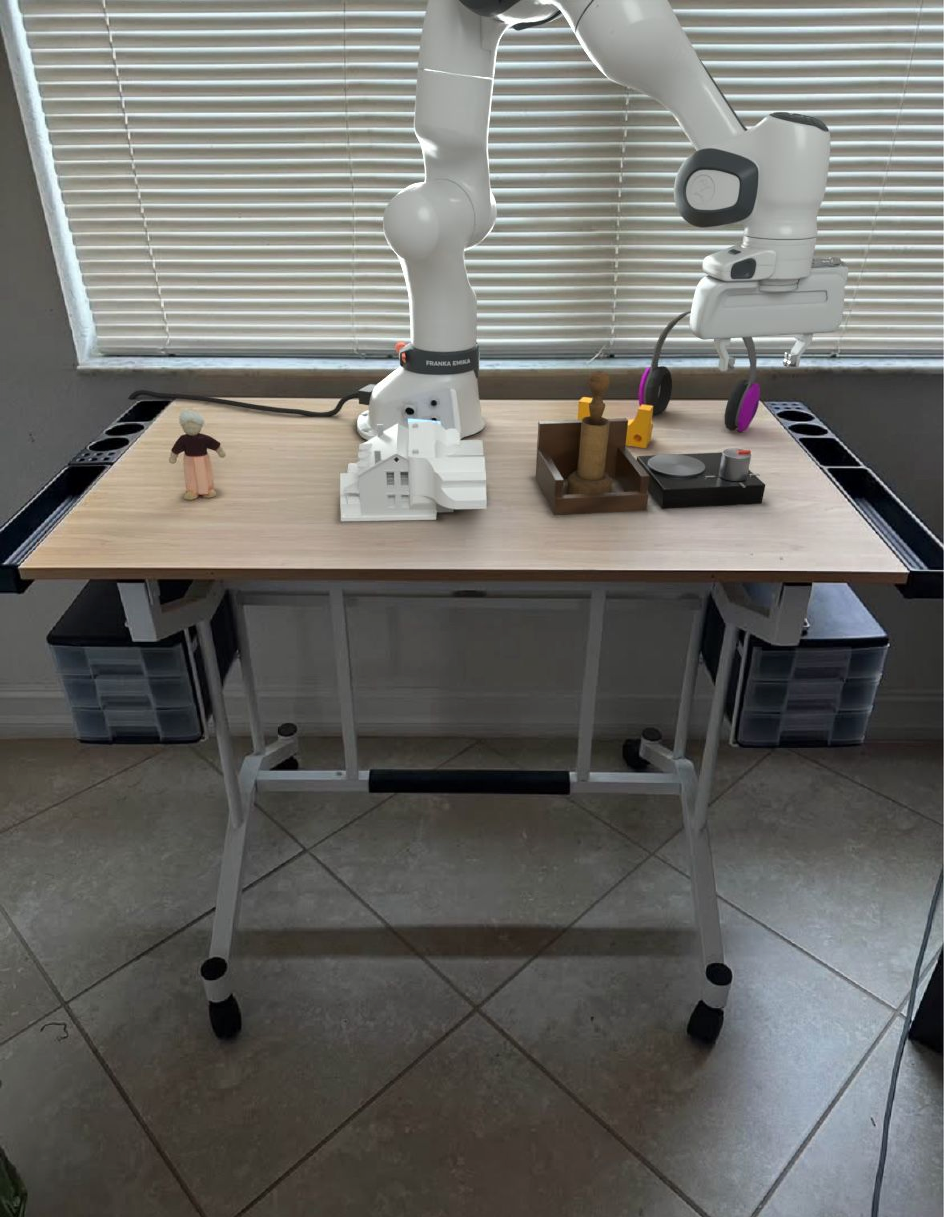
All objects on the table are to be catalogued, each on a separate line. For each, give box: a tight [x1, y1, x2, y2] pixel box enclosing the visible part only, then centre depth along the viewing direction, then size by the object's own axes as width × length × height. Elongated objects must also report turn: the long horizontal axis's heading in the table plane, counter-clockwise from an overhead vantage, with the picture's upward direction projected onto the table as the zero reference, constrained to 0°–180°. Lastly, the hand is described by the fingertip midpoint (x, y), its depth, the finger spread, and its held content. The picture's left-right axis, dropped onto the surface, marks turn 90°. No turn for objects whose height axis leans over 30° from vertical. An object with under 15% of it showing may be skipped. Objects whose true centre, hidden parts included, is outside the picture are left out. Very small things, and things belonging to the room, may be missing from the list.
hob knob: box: [719, 448, 752, 481], centre depth 122 cm, size 4×4×4 cm
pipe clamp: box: [576, 396, 654, 449], centre depth 143 cm, size 12×4×6 cm, turn 68°
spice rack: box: [535, 417, 650, 516], centre depth 122 cm, size 13×13×9 cm
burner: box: [648, 453, 705, 478], centre depth 126 cm, size 8×8×1 cm
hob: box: [636, 451, 766, 510], centre depth 125 cm, size 16×14×3 cm
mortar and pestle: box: [566, 370, 613, 495], centre depth 120 cm, size 7×6×18 cm
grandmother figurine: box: [168, 409, 227, 501], centre depth 120 cm, size 8×4×13 cm, turn 117°
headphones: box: [638, 309, 761, 433], centre depth 147 cm, size 21×9×20 cm, turn 58°
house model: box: [339, 421, 488, 522], centre depth 117 cm, size 19×20×10 cm
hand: (758, 368), depth 115 cm, fingers open, 8 cm apart
